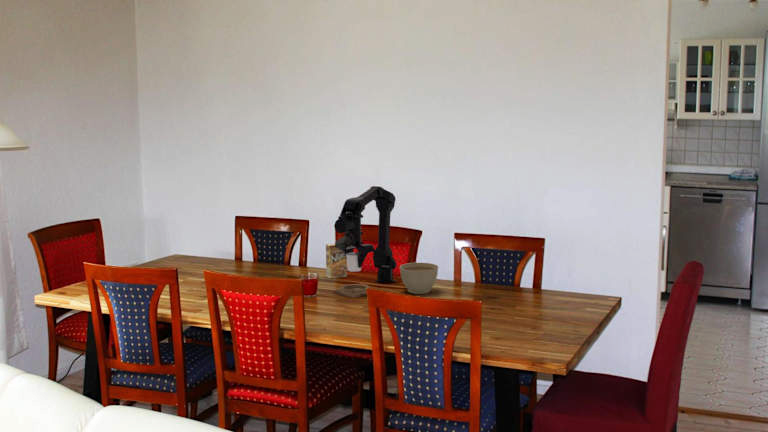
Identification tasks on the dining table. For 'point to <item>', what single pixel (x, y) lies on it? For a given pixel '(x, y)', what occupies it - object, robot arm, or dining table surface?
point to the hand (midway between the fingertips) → (354, 266)
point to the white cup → (352, 262)
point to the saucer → (352, 290)
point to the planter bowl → (419, 277)
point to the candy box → (335, 262)
